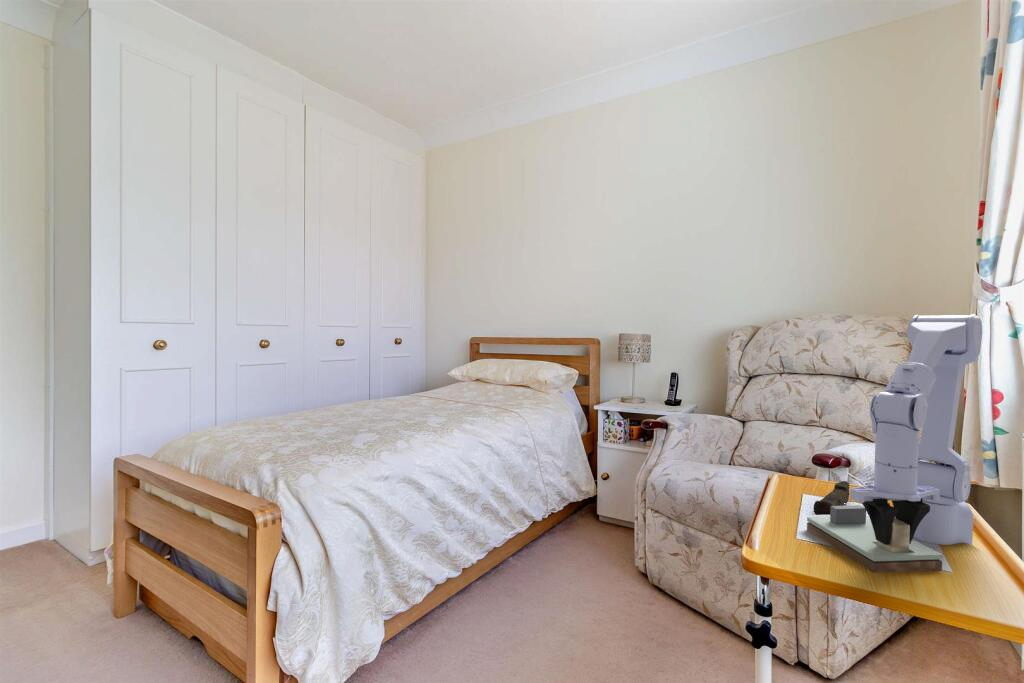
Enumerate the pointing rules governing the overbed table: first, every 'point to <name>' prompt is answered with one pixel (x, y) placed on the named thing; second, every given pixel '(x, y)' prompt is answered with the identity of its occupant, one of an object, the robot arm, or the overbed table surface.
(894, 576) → the overbed table surface
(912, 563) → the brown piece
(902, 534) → the block
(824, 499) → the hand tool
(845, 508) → the lid
